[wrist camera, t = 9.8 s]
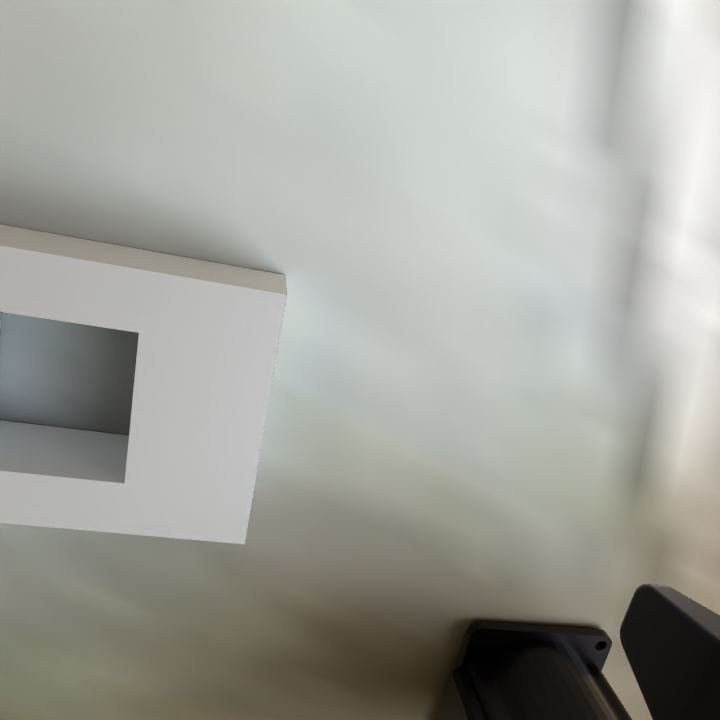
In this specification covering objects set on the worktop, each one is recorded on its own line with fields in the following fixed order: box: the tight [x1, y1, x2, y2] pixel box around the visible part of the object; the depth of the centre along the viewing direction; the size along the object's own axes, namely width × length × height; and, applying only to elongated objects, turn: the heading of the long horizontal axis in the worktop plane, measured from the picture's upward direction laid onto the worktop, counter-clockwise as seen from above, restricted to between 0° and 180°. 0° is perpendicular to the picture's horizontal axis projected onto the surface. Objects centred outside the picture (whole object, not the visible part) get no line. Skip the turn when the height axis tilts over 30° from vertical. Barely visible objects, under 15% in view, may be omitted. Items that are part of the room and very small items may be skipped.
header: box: [0, 224, 287, 544], centre depth 17 cm, size 12×8×3 cm, turn 78°
